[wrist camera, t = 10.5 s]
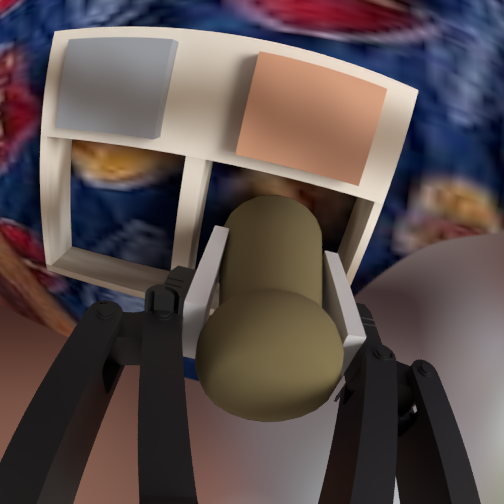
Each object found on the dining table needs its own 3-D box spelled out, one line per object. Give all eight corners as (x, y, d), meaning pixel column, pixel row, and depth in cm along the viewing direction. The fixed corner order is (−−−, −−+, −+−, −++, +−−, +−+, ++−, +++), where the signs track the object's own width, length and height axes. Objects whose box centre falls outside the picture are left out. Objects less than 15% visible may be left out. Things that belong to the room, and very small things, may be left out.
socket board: (81, 36, 14) (44, 29, 11) (397, 90, 15) (426, 90, 12) (67, 250, 22) (39, 277, 18) (321, 310, 23) (327, 348, 19)
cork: (297, 297, 21) (308, 450, 11) (208, 267, 20) (160, 416, 10) (339, 217, 18) (402, 359, 8) (240, 179, 17) (198, 298, 8)
